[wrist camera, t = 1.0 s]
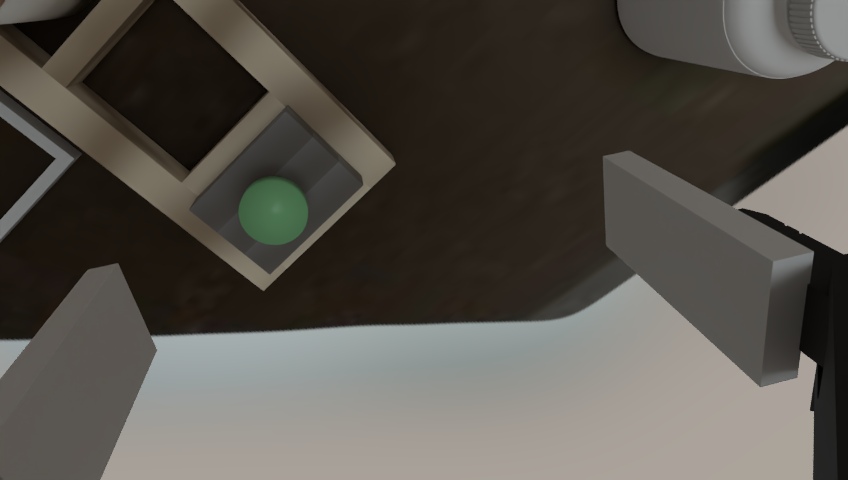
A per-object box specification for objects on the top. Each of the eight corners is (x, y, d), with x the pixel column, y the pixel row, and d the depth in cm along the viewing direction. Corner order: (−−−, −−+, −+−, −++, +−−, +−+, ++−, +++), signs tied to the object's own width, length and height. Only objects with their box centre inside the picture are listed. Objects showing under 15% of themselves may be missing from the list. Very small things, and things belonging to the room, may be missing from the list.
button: (231, 197, 33) (223, 214, 31) (275, 154, 33) (270, 167, 30) (279, 238, 35) (276, 257, 32) (322, 196, 34) (322, 213, 31)
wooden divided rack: (-122, -35, 30) (-190, -39, 26) (22, -218, 28) (-28, -253, 24) (266, 274, 40) (260, 305, 36) (391, 154, 38) (399, 173, 34)
